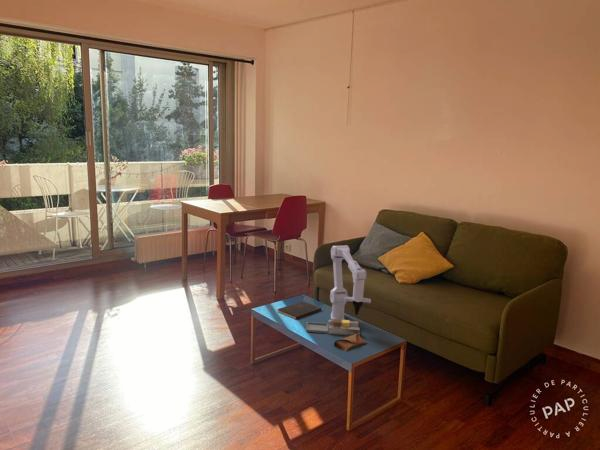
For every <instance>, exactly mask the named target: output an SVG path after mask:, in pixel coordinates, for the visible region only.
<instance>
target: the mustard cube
mask: <svg viewBox="0 0 600 450" xmlns="http://www.w3.org/2000/svg"><path fill="white" fill-rule="evenodd" d="M349 321H350V319H345V320H342V327H349V325H350V322H349Z"/></svg>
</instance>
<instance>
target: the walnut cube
mask: <svg viewBox="0 0 600 450" xmlns="http://www.w3.org/2000/svg"><path fill="white" fill-rule="evenodd" d="M332 320H333V326H340V325H341V321H340V320H339V319H332Z"/></svg>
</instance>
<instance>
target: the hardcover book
mask: <svg viewBox="0 0 600 450" xmlns="http://www.w3.org/2000/svg"><path fill="white" fill-rule="evenodd" d="M276 310H277V312H278V313H279V314H282V315H284V316H287V317H289V318H291V319H294V320H295V321H296V320H300V319H301V318H305V317H307V316H310V315H311V316H312V315H313V314H315V313H316V314H317V313H320V312H322V308H321V307H319V306H318V305H317V306H316V305H314V304H311V303H308V302H307V301H306V302H305V301H303V300H302V301H299V302H295V303H292V304H290V305H286V306H283V307H280V308H277V309H276Z"/></svg>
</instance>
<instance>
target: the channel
mask: <svg viewBox="0 0 600 450" xmlns="http://www.w3.org/2000/svg"><path fill="white" fill-rule="evenodd" d="M327 321H328V322H327V323H328V333H327V334H328V335H339V336H341V335H342V336H351V335H354V334H357V333H358V335H359V336H360V334H361V330H360V327H359V321H354V320H349V322H350V325H349V327H342V320H340V321H341V325H340V326H333V319H330V318H329V319H328V320H327Z"/></svg>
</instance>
